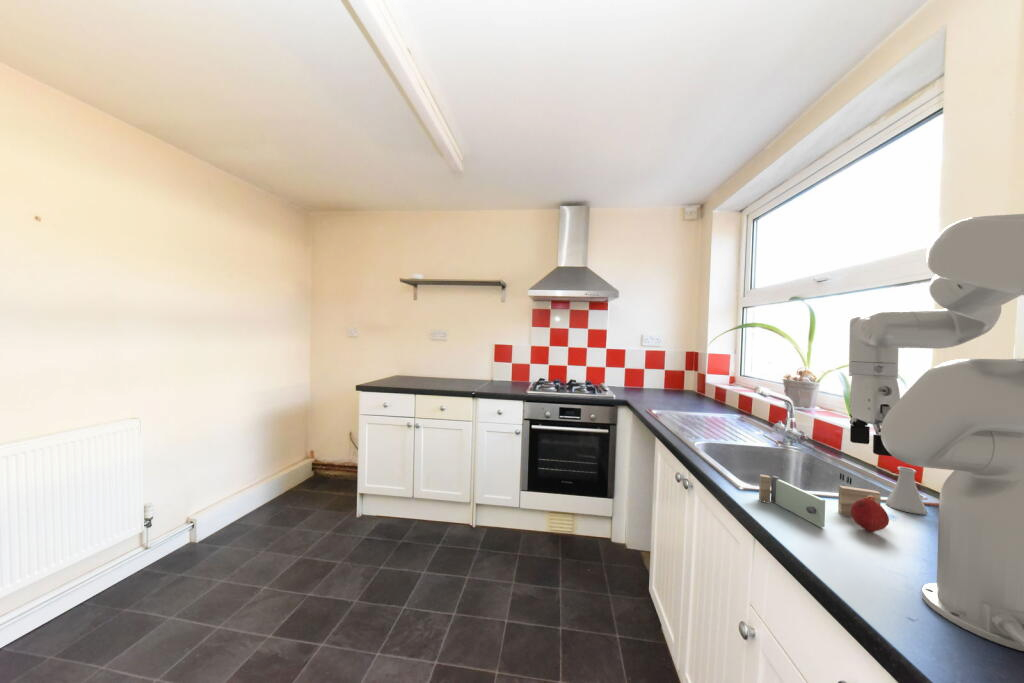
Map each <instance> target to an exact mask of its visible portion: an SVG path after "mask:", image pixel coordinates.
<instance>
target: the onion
mask: <svg viewBox="0 0 1024 683" xmlns="http://www.w3.org/2000/svg"><path fill="white" fill-rule="evenodd" d="M874 499H875V498H874V497H873V496H867V497H866V498H864V499H860V500H858V501H856V502H854V503H853V505H852V506H851V516H852V517H851V516H850V517H851V518H852V519H853V521H854V522H855V524H856V525H858V526H859V527H861V528H862V529H863V530H865V532H867V533H874V532H877V531H878V532H879V531H881V530H883V529H885V528H886V527H887V526H888V525H889V524H890V519H889V515H888V513H887V511H886V510H885V508H884V507H883V506H882V505H881V504H880V505H879V504H878V503H877V502H875V500H874Z"/></svg>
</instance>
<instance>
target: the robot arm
mask: <svg viewBox="0 0 1024 683" xmlns="http://www.w3.org/2000/svg"><path fill="white" fill-rule="evenodd" d="M925 260H926V265H927V266H928V269H929V270H930V271H931V272H932V274H934V276H933V277H932V279H931V280H930V282H929V286H928V287H929V288H928V289H929V294H930V295H931V297H932V299H933V300H934V302H936V303H937V304H938V305H939V306H940V307H942V308H943V309H898V310H897V309H891V310H890V309H887V310H886V309H885V310H884V309H883V310H877V311H872V312H870V313H868V314H867V313H866V314H858V315H855V316H853V317H852V318H850V321H849V348H848V349H849V350H848V351H849V352H848V354H849V355H848V361H849V362H848V377H849V376H850V377H851V381H850V382H851V383H850V392H849V405H848V407H849V417H850V420H849V424H850V431H849V432H850V434H849V438H850V439H849V440H850V442H851V443H852V444H863V445H869V444H870V429H871V428H870V426H869V424H870V425H872V427H873V430H874V432H875V434H874V433H873V435H872V436H873V437H872V438H873V439H872V440H873V441H872V453H873V454H874V455H878V456H887V457H893V458H895V459H897V460H899V461H900V462H903V463H904V464H908V465H911V466H914V467H919V468H927V469H937V470H938V469H939V470H947V471H948V470H949V471H952V472H951V473H950V475H949V476H948V477H947V478H946V479H945V481H944V482H943V484H942V486H941V487H940V488H941V489H940V492H939V500H938V501H939V505H938V525H937V526H938V529H937V531H938V532H937V563H936V564H937V565H936V582H931V583H925V584H923V585H922V587H921V590H920V591H921V592H920V593H921V598H922V599H923V601H924V602H925V603H926V604H927V605H928V606H929V607H930V608H931V609H932V610H933V611H934V612H936V613H937V614H939V615H940V616H942V617H943V618H944V619H946V620H948V621H949V622H951V623H953V624H954V625H957V626H958V627H961V628H962V629H964V630H965V631H966V630H967V631H969V632H971V633H972V634H975V635H976V636H979V637H981V638H983V639H986V640H988V641H991V642H993V643H996V644H999V645H1002V646H1005V647H1007V648H1011V649H1013V650H1014V649H1015V650H1017V651H1021V652H1024V357H1019V358H1009V359H1004V358H998V359H997V358H960V359H952V360H949V361H946V362H942V363H940V364H937V365H935V366H933V367H931V368H930V369H928V370H927V371H925V372H924V373H923V374H922V375H921V376H920V377H919V378H918V379H917V380H916V381H915V382H914V383H913V385H911V387H910V388H908V389H907V391H906V392H904V394H903V395H902V396H900V388H899V383H898V380H897V379H898V378H899V349H906V348H907V349H908V348H909V349H949V348H953V347H957V346H960V345H963V344H966V343H967V342H970V341H973V340H975V339H976V338H979V337H981V336H983V335H985V334H987V333H989V332H990V331H991V330H992V329H993V328H994V327H995V325H996V324H997V322H998V321H999V319H1000V316H1001V313H1002V306H1003V305H1005V304H1007V303H1009V302H1012V300H1014V299H1017V298H1019V297H1021V296H1024V213H1015V214H1000V215H995V214H994V215H983V216H981V215H980V216H973V217H968V218H964V219H962V220H959V221H956V222H955V223H954V222H953V223H952V224H950V225H948V226H947V227H945V228H944V229H942V230H941V232H939V233H938V234H937V235H936V236H935V237H934V238H933V240H932V241H931V242H930V244H929V246H928V248H927V251H926V258H925Z"/></svg>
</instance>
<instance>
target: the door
mask: <svg viewBox="0 0 1024 683" xmlns="http://www.w3.org/2000/svg"><path fill="white" fill-rule="evenodd" d="M770 478H771V484H770V503H774V504H777V505H779V506H781V507H782V508H784V509H786V510H788V511H789V512H791V513H793V514H795V515H798V516H799V517H800V518H803V519H804V520H806V521H808V522H810V523H812V524H813V525H816V526H818V527H820V528H825V526H826V525H825V524H826V522H825V519H826V499H823V498H822V497H819V496H817V495H815V494H813V493H811V492H808V491H806V490H804V489H802V488H799V487H797V486H795V485H793V484H791V483H790V482H789V483H788V482H786V481H785V480H782V479H780V477H779V476H776V475H771V477H770Z"/></svg>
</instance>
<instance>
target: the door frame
mask: <svg viewBox="0 0 1024 683" xmlns="http://www.w3.org/2000/svg"><path fill="white" fill-rule="evenodd" d="M771 478H772V477H770V475H767V474H759V481H758V482H759V486H758V488H759V489H758V490H759V492H758V500H759V499H760V500H761V501H765V502H764V503H766V502H769V503H768V504H770V503H771ZM881 494H882V493H881V492H880V491H878V490H874V489H865V488H859V487H852V486H851V487H850V486H846V485H845V486H844V485H838V501H837V502H838V505H837V506H838V508H837V512H838V514H840V516H845V515H847V516H846V517H851V518H852V516H851V506H852V505H853V503H854V502H856V501H858V500H860V499H864V498H866V497H867V496H873V497H874V498H875V499H874V500H875V502H877V503H878V504H879V505H881V503H882V502H881V501H882V500H881V498H882V496H881ZM760 500H759V501H760ZM761 501H760V502H761Z"/></svg>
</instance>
